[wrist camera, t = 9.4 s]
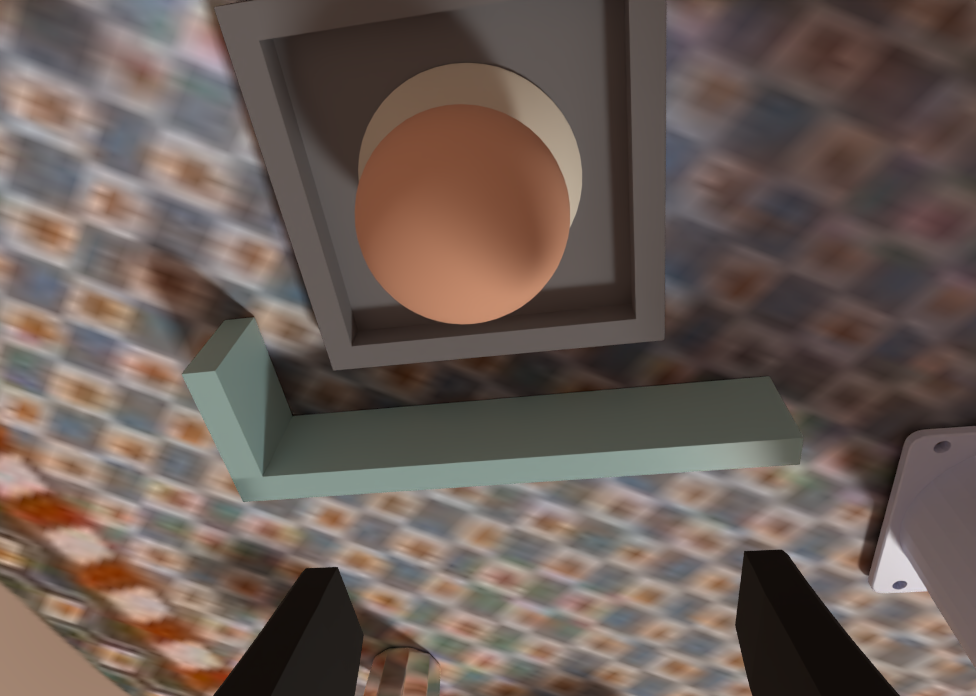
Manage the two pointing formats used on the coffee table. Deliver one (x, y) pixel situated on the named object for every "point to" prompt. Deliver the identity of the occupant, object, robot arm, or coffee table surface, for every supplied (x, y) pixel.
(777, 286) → the coffee table surface
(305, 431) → the divider wall
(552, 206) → the ball
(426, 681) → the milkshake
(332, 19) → the tray
